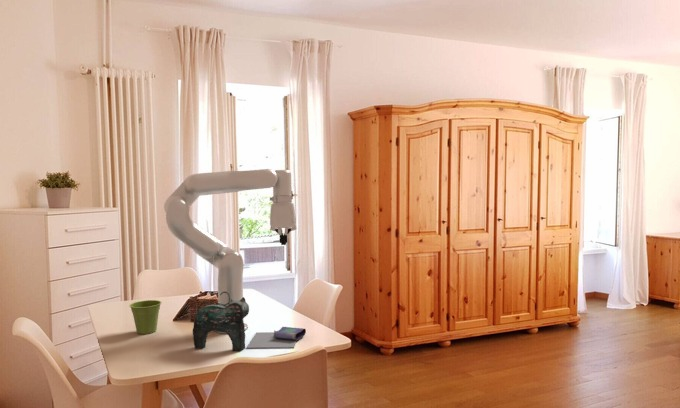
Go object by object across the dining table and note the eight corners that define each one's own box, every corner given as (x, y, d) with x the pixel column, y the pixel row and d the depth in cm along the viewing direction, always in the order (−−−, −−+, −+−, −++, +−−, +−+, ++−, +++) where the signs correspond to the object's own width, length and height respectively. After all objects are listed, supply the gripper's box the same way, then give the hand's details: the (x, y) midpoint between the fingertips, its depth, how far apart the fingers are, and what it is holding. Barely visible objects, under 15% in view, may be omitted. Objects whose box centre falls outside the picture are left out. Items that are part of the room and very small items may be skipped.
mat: (246, 348, 173) (246, 347, 173) (256, 333, 191) (256, 332, 191) (293, 348, 173) (293, 347, 173) (299, 333, 191) (299, 331, 191)
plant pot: (124, 332, 196) (123, 304, 196) (153, 326, 205) (152, 298, 204) (138, 338, 188) (137, 308, 188) (168, 331, 197) (167, 302, 196)
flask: (295, 333, 178) (268, 331, 182) (295, 342, 178) (268, 340, 182) (305, 327, 187) (279, 325, 190) (306, 335, 187) (280, 333, 190)
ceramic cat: (251, 347, 174) (249, 290, 174) (243, 353, 168) (241, 294, 167) (199, 344, 179) (197, 289, 178) (189, 350, 173) (188, 292, 172)
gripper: (262, 200, 202) (263, 246, 202) (299, 199, 201) (300, 245, 202) (266, 200, 209) (267, 244, 210) (301, 199, 209) (302, 243, 209)
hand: (283, 244), depth 206 cm, fingers closed
